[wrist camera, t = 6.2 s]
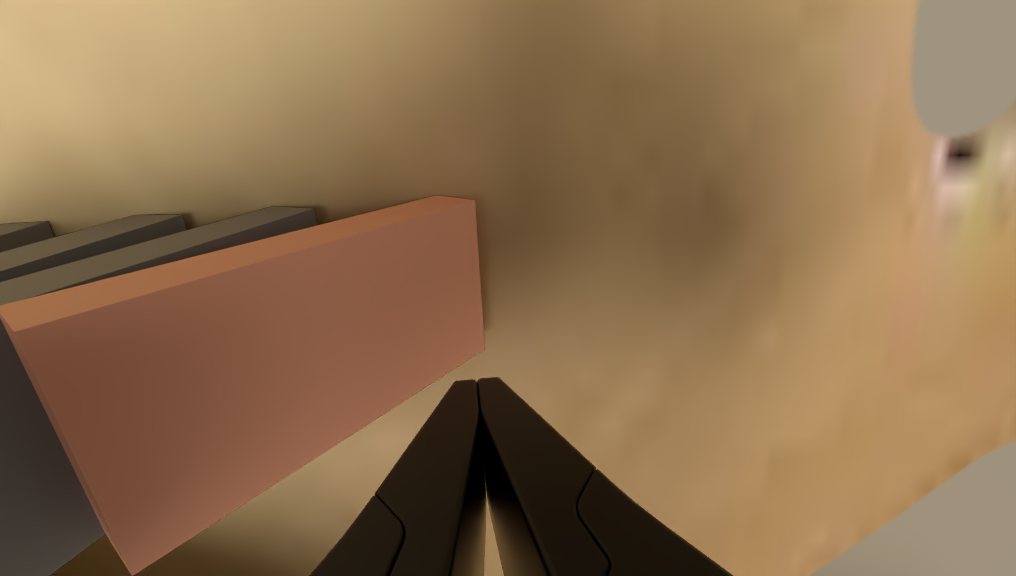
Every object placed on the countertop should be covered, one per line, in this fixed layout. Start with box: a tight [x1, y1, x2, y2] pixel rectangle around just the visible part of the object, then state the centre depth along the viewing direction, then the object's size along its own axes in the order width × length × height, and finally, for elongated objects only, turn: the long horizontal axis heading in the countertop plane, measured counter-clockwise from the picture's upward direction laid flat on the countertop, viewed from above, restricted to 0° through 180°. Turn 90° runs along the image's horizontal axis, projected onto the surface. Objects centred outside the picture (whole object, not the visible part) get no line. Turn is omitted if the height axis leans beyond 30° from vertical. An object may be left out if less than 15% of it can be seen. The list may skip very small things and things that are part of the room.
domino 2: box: [0, 206, 317, 576], centre depth 11 cm, size 2×5×10 cm, turn 3°
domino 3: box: [0, 215, 187, 282], centre depth 10 cm, size 2×5×10 cm, turn 2°
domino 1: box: [0, 195, 485, 576], centre depth 12 cm, size 2×5×10 cm
